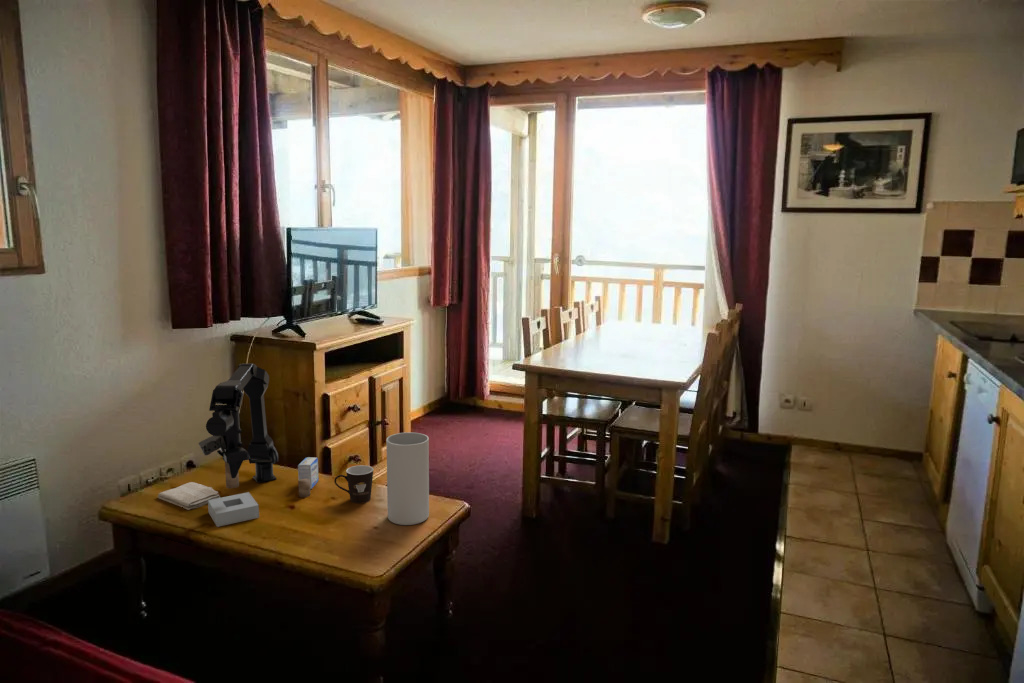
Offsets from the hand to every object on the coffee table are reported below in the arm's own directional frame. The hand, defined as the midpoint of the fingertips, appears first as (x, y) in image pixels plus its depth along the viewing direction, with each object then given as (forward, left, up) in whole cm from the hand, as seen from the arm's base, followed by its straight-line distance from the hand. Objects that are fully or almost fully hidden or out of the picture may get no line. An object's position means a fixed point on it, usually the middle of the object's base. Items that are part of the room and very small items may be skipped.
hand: (232, 475), depth 205 cm
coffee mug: (+8, +36, -13) cm, 39 cm away
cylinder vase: (+30, +44, -13) cm, 55 cm away
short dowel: (-4, +23, -12) cm, 26 cm away
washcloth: (-21, -9, -13) cm, 26 cm away
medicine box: (-12, +27, -13) cm, 32 cm away
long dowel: (0, 0, -3) cm, 3 cm away
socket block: (0, 0, -12) cm, 13 cm away
